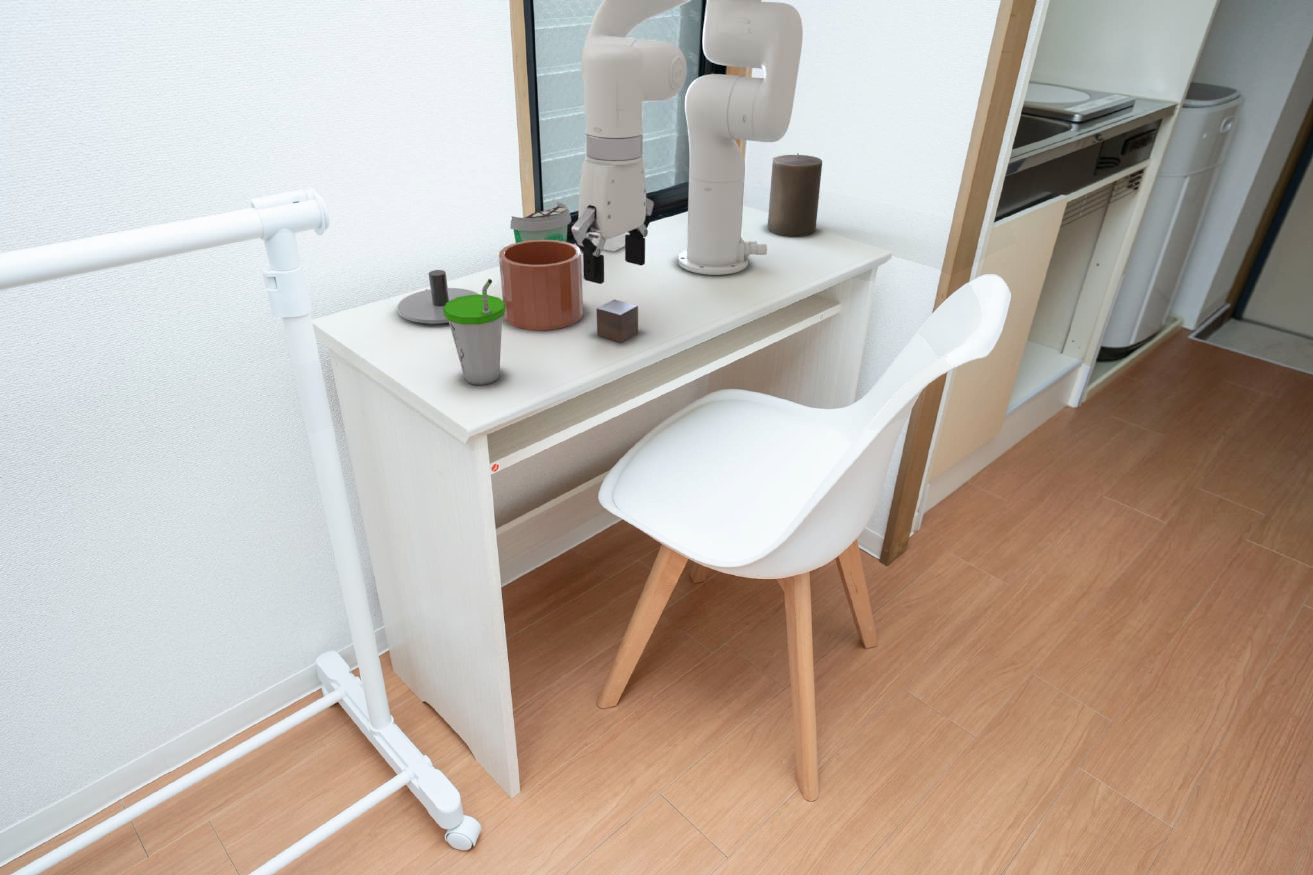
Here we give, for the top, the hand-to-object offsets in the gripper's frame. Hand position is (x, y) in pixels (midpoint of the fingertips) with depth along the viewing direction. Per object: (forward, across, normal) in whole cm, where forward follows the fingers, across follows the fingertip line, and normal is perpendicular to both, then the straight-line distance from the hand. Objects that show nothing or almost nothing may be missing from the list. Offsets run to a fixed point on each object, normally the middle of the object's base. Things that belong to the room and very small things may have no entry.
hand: (615, 272), depth 120 cm
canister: (+10, 0, -14) cm, 17 cm away
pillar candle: (+9, -62, -2) cm, 63 cm away
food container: (+10, -17, -27) cm, 33 cm away
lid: (+9, +8, -28) cm, 31 cm away
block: (+10, -1, 0) cm, 10 cm away
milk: (+9, -33, -26) cm, 43 cm away
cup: (+10, +21, -7) cm, 24 cm away
